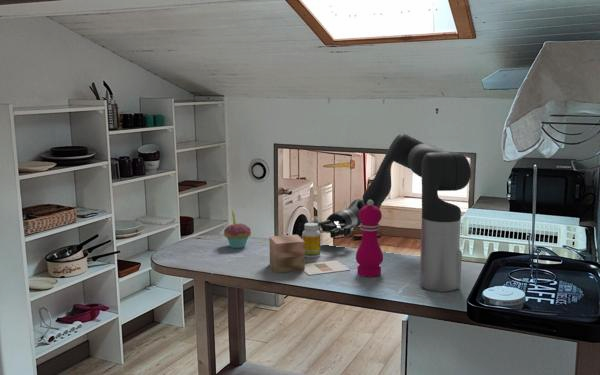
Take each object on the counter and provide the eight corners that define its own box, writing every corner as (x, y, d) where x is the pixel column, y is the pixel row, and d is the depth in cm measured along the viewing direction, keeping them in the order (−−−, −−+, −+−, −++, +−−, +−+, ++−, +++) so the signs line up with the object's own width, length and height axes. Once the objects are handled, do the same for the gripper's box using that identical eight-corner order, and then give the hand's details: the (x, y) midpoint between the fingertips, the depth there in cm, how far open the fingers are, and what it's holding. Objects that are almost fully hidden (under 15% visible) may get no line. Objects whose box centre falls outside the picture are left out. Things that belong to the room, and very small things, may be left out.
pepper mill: (382, 278, 144) (383, 202, 141) (354, 277, 146) (355, 201, 142) (383, 270, 151) (385, 197, 148) (356, 268, 153) (357, 196, 149)
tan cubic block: (297, 261, 159) (297, 234, 158) (304, 270, 152) (304, 241, 150) (269, 264, 157) (269, 236, 156) (276, 272, 149) (275, 243, 148)
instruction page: (336, 261, 160) (336, 260, 160) (350, 270, 151) (350, 269, 151) (297, 265, 155) (297, 264, 155) (308, 275, 147) (308, 274, 147)
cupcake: (240, 251, 170) (239, 212, 168) (218, 247, 175) (217, 209, 173) (256, 244, 177) (255, 207, 175) (235, 241, 182) (234, 205, 180)
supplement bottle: (300, 253, 167) (300, 222, 166) (317, 252, 168) (317, 221, 167) (304, 258, 162) (304, 226, 160) (322, 257, 163) (322, 225, 162)
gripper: (322, 209, 185) (298, 218, 171) (362, 213, 178) (340, 223, 164) (322, 231, 186) (298, 242, 172) (362, 236, 179) (340, 247, 165)
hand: (318, 232), depth 168 cm, fingers open, 8 cm apart
